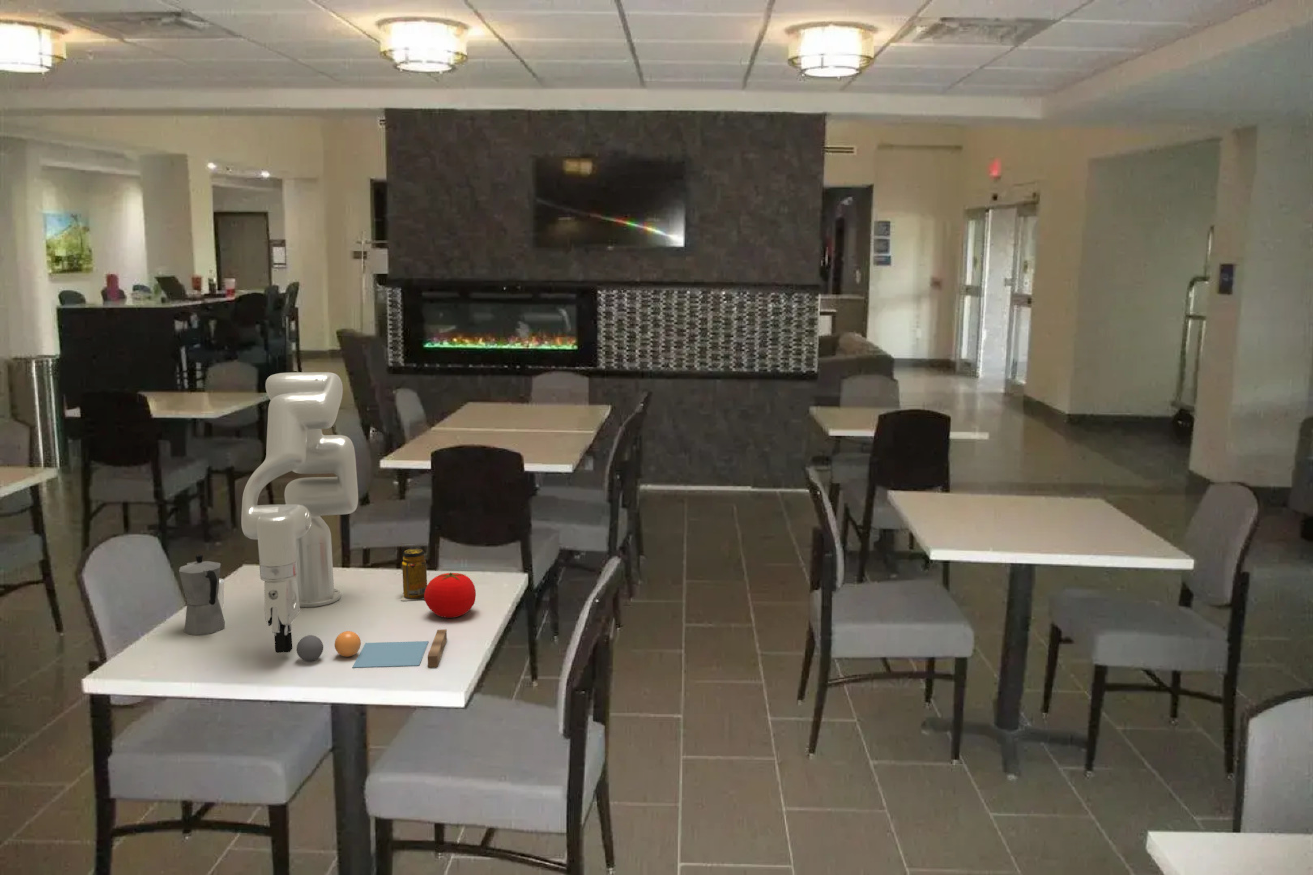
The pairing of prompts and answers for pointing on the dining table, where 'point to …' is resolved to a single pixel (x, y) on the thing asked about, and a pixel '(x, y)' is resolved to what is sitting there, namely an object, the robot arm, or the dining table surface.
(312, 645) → the gray sphere
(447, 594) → the tomato
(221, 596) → the shot glass
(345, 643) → the object ball
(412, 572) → the condiment
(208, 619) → the coffeepot
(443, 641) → the stopper wall
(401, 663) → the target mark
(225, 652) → the dining table surface
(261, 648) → the dining table surface
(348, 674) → the dining table surface
